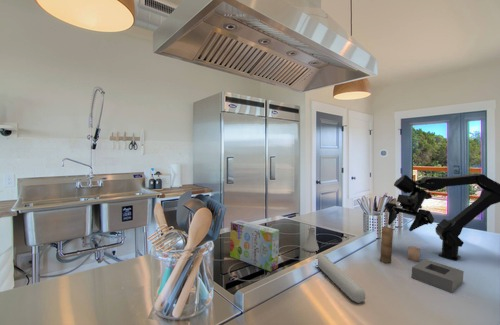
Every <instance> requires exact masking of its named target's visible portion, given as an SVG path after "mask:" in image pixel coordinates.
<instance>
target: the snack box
mask: <svg viewBox="0 0 500 325" xmlns="http://www.w3.org/2000/svg"><path fill="white" fill-rule="evenodd" d="M229 234H230V235H229V236H230V240H229V242H230V243H229V246H230V247H229V257H230V258H233V259H236V260H238V261H241V262H242V263H243V262H245V263H247V264H249V265H251V266H255V267H256V268H257V267H258V268H260V269H262V270H265V271H268V272H270V273H272V272H273V271H275V270H277V269H278V268H279V244H280V229H277V228H273V227H269V226H264V225H261V224H257V223H254V222H253V223H252V222H250V221H249V222H248V221H245V220H240V219H237V220H234V221H231V222H230V233H229Z"/></svg>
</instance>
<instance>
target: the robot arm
mask: <svg viewBox="0 0 500 325" xmlns="http://www.w3.org/2000/svg"><path fill="white" fill-rule="evenodd" d="M465 185H466V186H467V185H477V186H478V187H479V188H480V189H482V190H481V191H480V195H479V197H478V198H477V199H476V200H474V201H473V202H472V203H471V204H469V205H468V206H466V207H465V208H464V209H463V210H462V211H461V212H459V213H457V214H456V216H454V217H453V218H451V219H449V220H448V219H445V218H443V219H442V220H441V221H440V222H439V223H436V226H435V233H436V235H437V236H438V237H439V239H440V240H441V241H442V242H441V243H442V244H441V252H440V253H438V257H443V258H447V259H450V260H452V261H453V260H454V261H458V260H459V259H461V256H462V255H459V247H460V248H461V247H462V246H463V245H464V243H465V242H464V241H463V240H462V239H461V238H460V237H459V236H460V235H461V233H462V232H463V229H464V227H465V226H467V225H468V224H469V223H471V222H472V221H473V220H474V219H476V218H477V217H478V216H479V215H481V213H483V212H484V211H485V210H487V209H488V208H489V207H490V206H492V205H495V204H499V203H500V183H499V182H497V181H495V180H494V179H491V178H489V177H488V176H487V175H485V174H483V173H482V174H481V173H473V174H465V175H455V176H446V177H444V176H443V177H441V176H423V177H421V179H417V180H413V179H411V178H410V176H408V175H407V174H403V175H402V176H401V177H399V178H397V179H396V181H395V182H394V183H393V186H394V187H395V188H397V190H399V191H401V192H402V193H403V194H398V196H397V198H396V202H398V203H399V205H400V207H399V206H398V205H397V204H396V203H393V202H386V203H385V205H384V208H385V209H386V212H388V220H387V225H388V226H391V225H392V223H394V221H395V220H396V219H397V217H398V215H399V214H401V213H402V214H406V215H409V216H413V217H414V218H415V219H414V220H413V221H412V223H411V225H410V226H409V229H408V231H409V232H412V231H414V230H416V229H418V228H420V227H423V226H425V225H433V223H434V222H435V218H434V216H433V214H432V212H431V210H427V209H423V203H424V201H425V200H428V199H432V198H433V196H432V194H431V192H434V191H439V190H442V189H445V188H447V187H459V186H465ZM428 191H429V192H428ZM406 194H409V195H406Z"/></svg>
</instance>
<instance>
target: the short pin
mask: <svg viewBox="0 0 500 325" xmlns="http://www.w3.org/2000/svg"><path fill="white" fill-rule="evenodd" d="M420 249H421V248H419V247H417V246H411V245H410V246H408V254H407V255H408V256H407V260H409V261H411V262H415V263H417V262H418V263H419V262H420V253H421V251H420Z"/></svg>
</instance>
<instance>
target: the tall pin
mask: <svg viewBox="0 0 500 325" xmlns="http://www.w3.org/2000/svg"><path fill="white" fill-rule="evenodd" d="M393 235H394V229H393V228H392V227H389V226H382V228H381V241H380V259H379V260H380V262H381V263H384V264H389V265H390V264H392V254H393V237H394V236H393Z"/></svg>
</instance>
